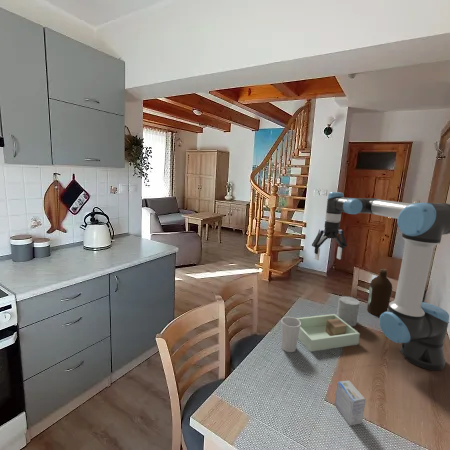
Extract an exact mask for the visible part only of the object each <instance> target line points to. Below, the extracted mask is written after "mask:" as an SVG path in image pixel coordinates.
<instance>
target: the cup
mask: <svg viewBox="0 0 450 450" xmlns="http://www.w3.org/2000/svg"><path fill="white" fill-rule="evenodd" d="M296 318H297V317H293V316H284V317H282V318H281V320H280V321H281V322H280V323H281V324H280V325H281V328H280V329H281V331H280V332H281V334H280V335H281V337H280V338H281V339H280V348H281V349H282V351H284V350H285V351H284V352H287V353H293V352H295V351H296V350H297V345H298V340H299V339H298V336H299V331H300V326H301V322H300V321H299V320H298V319H296Z"/></svg>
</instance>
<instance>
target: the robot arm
mask: <svg viewBox="0 0 450 450" xmlns="http://www.w3.org/2000/svg"><path fill="white" fill-rule="evenodd" d="M325 212H326V213H325V221H324V230H323V229H318V233H317V235H316V237H315V238H314V240H313V242H312V243H311V246H312V247H313V248H314V251H313V252H314V259H315V260H316V261H319V260H320V254H321V253H320V252H321V248H320V247H321V246H322V245H323V244H324V242H326V240H328V239H334V240H335V241H336V243H337V244H338V246H337V251H336V259H338V260H341V259H342V254H343V252H344V249H345V248H346V247H348V244H347V241H346V238H345V231H344V230H343V229H340V226H341V220H342V219H341V218H342V213H345V214H349V215H357V214H370V215H376V216H381V217H384V218H385V217H387V218H391V219H397V227H398V228H399V231H400V232H401V233H402V235H401V238H402V239H403V241H404V242H405V244H404V250H403V255H402V260H401V265H400V271H399V275H398V279H397V285H396V291H395V294H394V295H395V296H394V300H392V301H389V305H388V309H387V312H384V313H382V314H381V316H379V319H378V320H379V322H378V323H379V326H380V329H381V331H382V334H384V336H385V337H387V338H388V339H389V340H390V341H392V342H393V343H397V344H401V346H400V351H399V352H400V353H401V354H402V355H403V356H404V359H405V360H406V361H408V362H410V363H411V364H413V365H414V366H416V367H417V366H418V367H419V368H422V369H425V370H430V371H441V370H443V369H444V368H445V365H446V358H445V352H444V343H445V338H446V334H447V330H448V326H449V323H450V322H449V320H450V313H448V311H446V310H445V309H443V308H441V307H439V306H437V305H435V304H432V303H428V302H424V301H423V300H424V299H423V298H424V295H425V289H426V286H427V280H428V276H429V271H430V267H431V262H432V256H433V252H434V247H436V246H438V245H439V244H441V241H442V238H443V237H442V236H443V235H449V234H450V203H447V202H446V203H445V202H443V203H442V202H439V203H437V202H422V201H421V202H415V203H410V202H401V201H394V200H384V199H379V198H374V197H373V198H372V197H371V198H370V197H369V198H368V197H367V198H365V197H361V198H360V197H346V196H345V195H344V193H343V192H339V191H329V193H328V195H327V201H326V211H325Z"/></svg>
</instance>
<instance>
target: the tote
mask: <svg viewBox="0 0 450 450" xmlns="http://www.w3.org/2000/svg"><path fill="white" fill-rule="evenodd" d="M295 318H296V319H298V320H299V321H300V322H301V326H300V331H299V336H298V340H299V341H300V342H301V343H302V344H303V346H305V348H306V349H307V350H308V351H309V352H312V353H313V352H316V351H317V352H319V351H324V350H330V349H331V350H332V349H338V348H342V347H350V346H357V345H359V342H360V341H359V340H360V335H361V333H360V332H358V330H357V329H355V328H353V326H352V327H351V326H350V325H348V324H347V323H346V322H344V321H343V320H342V319H341V318H339V317H338V316H337V314H336V313H331V314H322V315H321V314H320V315H313V316H305V317H295ZM331 319H339V320H340V321H341V322H343V323H344V324H345V325H346V326H347V327H346V333H345V334H342V335H335V336H330V335H328V334H327V333H326V332H325V331H326V323H327V320H331Z"/></svg>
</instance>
